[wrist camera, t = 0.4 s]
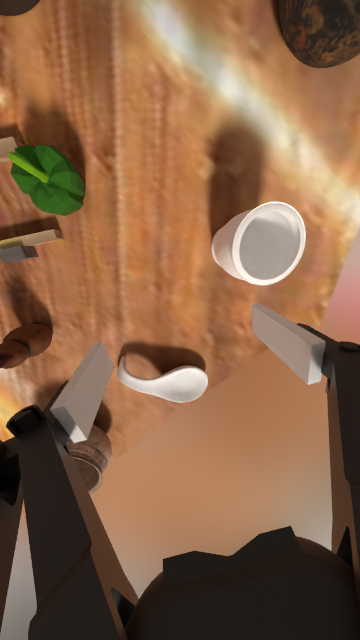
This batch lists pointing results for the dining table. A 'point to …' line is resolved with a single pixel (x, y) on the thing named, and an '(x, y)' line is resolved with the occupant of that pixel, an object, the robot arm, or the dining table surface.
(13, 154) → the bell pepper
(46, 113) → the dining table surface
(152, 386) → the spoon rest
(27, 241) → the tan wooden u-shaped frame
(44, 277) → the dining table surface
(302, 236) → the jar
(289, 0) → the glass bottle
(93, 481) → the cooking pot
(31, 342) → the wooden figurine
